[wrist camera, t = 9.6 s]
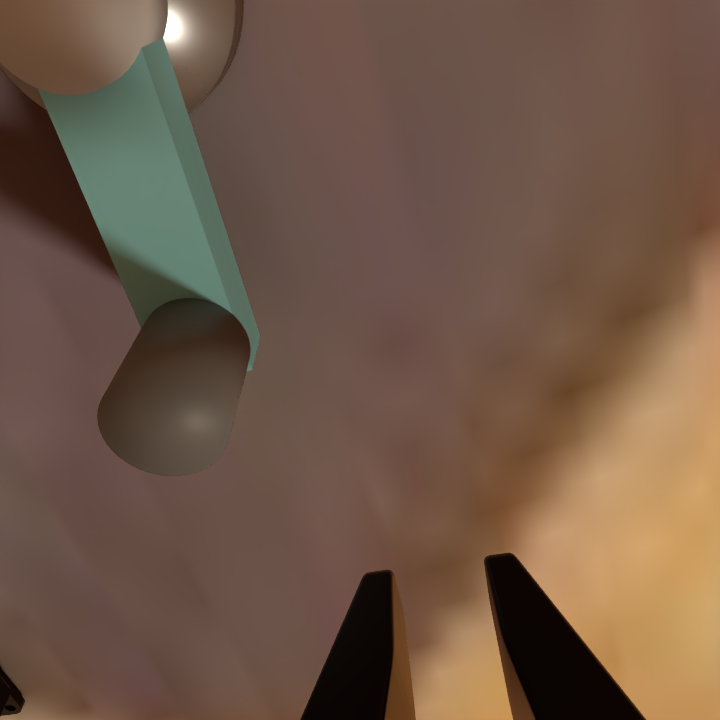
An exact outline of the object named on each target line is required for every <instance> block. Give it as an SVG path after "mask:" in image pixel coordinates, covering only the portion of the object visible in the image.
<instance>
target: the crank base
mask: <svg viewBox="0 0 720 720" xmlns="http://www.w3.org/2000/svg"><path fill="white" fill-rule="evenodd" d="M243 4H244V1H243V0H168V20H167V26H166V31H165V34H164V37H163V39H164V42H165V45H166V48H167V51H168V54H169V57H170V60H171V63H172V66H173V69H174V72H175V76H176V79H177V82H178V85H179V88H180V91H181V94H182V97H183V100H184V103H185V106H186V109H187V112H188V114H189V113H190V112H191V111H192V110H194V109H195V108H196V107H197V106H198V105H199V104H200V103H201V102H202V101H203V100H204V99H205V98H206V97H207V96H208V95H209V94H210V93H212V91H213V90H214V89H215V88H216V87H217V85H218V84H219V83H220V82H221V81H222V79H223V77H224V76H225V74H226V72H227V71H228V69H229V67H230V65H231V63H232V61H233V58H234V56H235V54H236V51H237V47H238V44H239V40H240V36H241V30H242V23H243ZM0 68H1V69H2V70H3V71H4V73H5V74H6V75H7V76H8V78H9V79H10V80H11V81H12V82H13V83H14V84H15V85H16V86H17V87H18V88H19V89H20V90H21V91H22V92H23V93H25V94H26V95H27V96H28V97H29V98H31V99H32V100H33V101H34V102H35V103H37V104H38V105H40V106H41V107H43V108H44V109H46V107H45V104H44V102H43V100H42V97H41V95H40V93H39V90H38V88H36V87H33V86H31V85H30V84H28V83H26V82H24V81H22V80H21V79H19V78H18V77H16V76H15V75H13V74H12V73H11V72H10V71H9V70H7V69H6V68H5V67H4V66H3V65H2V64H1V63H0ZM46 110H47V109H46Z"/></svg>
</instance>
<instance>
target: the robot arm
mask: <svg viewBox="0 0 720 720" xmlns="http://www.w3.org/2000/svg"><path fill="white" fill-rule="evenodd" d="M484 565H485V572H486V579H487V586H488V593H489V599H490V605H491V610H492V615H493V620H494V626H495V631H496V636H497V641H498V646H499V651H500V656H501V662H502V667H503V672H504V677H505V682H506V687H507V693H508V698H509V702H510V707H511V711H512V716H513V720H646V719H645V718H644V716H643V715H642V714H641V713H640V711H639V710H638V709H637V708H636V706H635V705H634V704H633V702H632V701H631V700H630V699H629V697H628V696H627V695H626V694H625V692H624V691H623V690H622V689H621V687H620V686H619V685H618V684H617V682H616V681H615V680H614V679H613V677H612V676H611V675H610V674H609V672H608V671H607V670H606V669H605V667H604V666H603V665H602V664H601V662H600V661H599V660H598V659H597V657H596V656H595V655H594V654H593V652H592V651H591V650H590V649H589V647H588V646H587V645H586V644H585V642H584V641H583V640H582V639H581V637H580V636H579V635H578V634H577V632H576V631H575V630H574V629H573V627H572V626H571V625H570V624H569V622H568V621H567V620H566V619H565V617H564V616H563V615H562V614H561V612H560V611H559V610H558V609H557V607H556V606H555V605H554V604H553V602H552V601H551V600H550V599H549V597H548V596H547V595H546V594H545V592H544V591H543V590H542V589H541V587H540V586H539V585H538V584H537V582H536V581H535V580H534V579H533V577H532V576H531V575H530V574H529V572H528V571H527V570H526V569H525V567H524V566H523V565H522V563H521V562H520V561H519V560H518V558H517V557H516V556H515V555H513V554H511V553H503V554H496V555H489V556H487V557H486V558H485V559H484ZM24 703H25V700H24V698H23V697H22V696H21V695H20V693H19V692H18V691H17V690H16V689H15V687H14V686H13V685H12V684H11V682H10V681H9V680H8V679H7V678H6V676H5V675H4V674H3V673H2V672H1V670H0V716H3V715H11V714H17V713H19V712H21V710H22V707H23V705H24ZM300 720H416V719H415V708H414V699H413V690H412V681H411V672H410V663H409V654H408V645H407V636H406V627H405V619H404V612H403V607H402V603H401V599H400V595H399V591H398V587H397V584H396V580H395V576H394V573H393V572H392V571H391V570H382V571H375V572H369V573H366V574H365V575H364V576H363V578H362V580H361V582H360V584H359V587H358V589H357V591H356V593H355V596H354V598H353V600H352V603H351V605H350V607H349V609H348V612H347V614H346V616H345V619H344V621H343V623H342V625H341V628H340V630H339V632H338V635H337V637H336V639H335V641H334V644H333V646H332V648H331V651H330V653H329V655H328V658H327V660H326V662H325V664H324V667H323V669H322V671H321V674H320V676H319V678H318V680H317V683H316V685H315V687H314V690H313V692H312V694H311V696H310V699H309V701H308V703H307V706H306V708H305V710H304V713H303V715H302V717H301V719H300Z"/></svg>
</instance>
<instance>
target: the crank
mask: <svg viewBox="0 0 720 720" xmlns="http://www.w3.org/2000/svg"><path fill="white" fill-rule="evenodd" d="M167 20H168V0H0V63H1V64H2V65H3V66H4V67H5V68H6V69H7V70H9V71H10V72H11V73H12V74H13V75H15V76H16V77H18V78H19V79H21V80H22V81H24V82H26V83H28V84H30V85H31V86H33V87H36V88H38V90H39V93H40V95H41V97H42V100H43V102H44V104H45V107H46V109H47V111H48V114H49V116H50V118H51V121H52V123H53V125H54V127H55V130H56V132H57V134H58V137H59V139H60V141H61V144H62V146H63V148H64V151H65V153H66V155H67V158H68V160H69V162H70V164H71V167H72V169H73V171H74V174H75V176H76V178H77V181H78V183H79V185H80V188H81V190H82V192H83V195H84V197H85V199H86V201H87V204H88V206H89V208H90V211H91V213H92V215H93V218H94V220H95V222H96V225H97V227H98V229H99V232H100V234H101V236H102V238H103V241H104V243H105V245H106V248H107V250H108V252H109V255H110V257H111V259H112V262H113V264H114V266H115V269H116V271H117V273H118V275H119V278H120V280H121V282H122V285H123V287H124V289H125V292H126V294H127V296H128V299H129V301H130V303H131V306H132V308H133V310H134V312H135V315H136V317H137V319H138V322H139V324H140V326H141V330H140V332H139V334H138V336H137V338H136V339H135V341H134V343H133V345H132V346H131V348H130V350H129V352H128V353H127V355H126V357H125V359H124V360H123V362H122V364H121V366H120V367H119V369H118V371H117V373H116V374H115V376H114V378H113V380H112V381H111V383H110V385H109V387H108V389H107V390H106V392H105V394H104V396H103V397H102V399H101V402H100V404H99V408H98V415H97V418H98V426H99V429H100V432H101V434H102V437H103V439H104V440H105V442H106V444H107V445H108V446H109V447H110V449H111V450H112V451H113V452H114V453H115V454H116V455H117V456H119V457H120V458H121V459H122V460H124V461H125V462H127V463H128V464H130V465H132V466H134V467H136V468H138V469H140V470H143V471H146V472H149V473H153V474H157V475H164V476H182V475H189V474H193V473H196V472H199V471H202V470H204V469H206V468H208V467H209V466H211V465H212V464H213V463H215V462H216V461H217V460H218V459H219V458H220V456H221V455H222V454H223V452H224V450H225V449H226V446H227V444H228V440H229V436H230V432H231V428H232V425H233V421H234V417H235V413H236V409H237V405H238V402H239V398H240V394H241V390H242V386H243V382H244V379H245V375H246V371H251V370H252V368H253V364H254V360H255V356H256V352H257V348H258V344H259V340H260V334H259V331H258V328H257V325H256V322H255V319H254V316H253V313H252V310H251V306H250V303H249V300H248V297H247V294H246V291H245V288H244V285H243V282H242V279H241V276H240V273H239V269H238V266H237V263H236V260H235V257H234V254H233V251H232V248H231V245H230V242H229V239H228V236H227V233H226V229H225V226H224V223H223V220H222V217H221V214H220V211H219V208H218V205H217V202H216V199H215V196H214V193H213V189H212V186H211V183H210V180H209V177H208V174H207V171H206V168H205V165H204V162H203V159H202V156H201V153H200V149H199V146H198V143H197V140H196V137H195V134H194V131H193V128H192V125H191V122H190V119H189V116H188V112H187V109H186V106H185V103H184V100H183V97H182V94H181V91H180V88H179V85H178V82H177V79H176V76H175V72H174V69H173V66H172V63H171V60H170V57H169V54H168V51H167V48H166V45H165V42H164V39H163V37H164V34H165V31H166V26H167Z"/></svg>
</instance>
